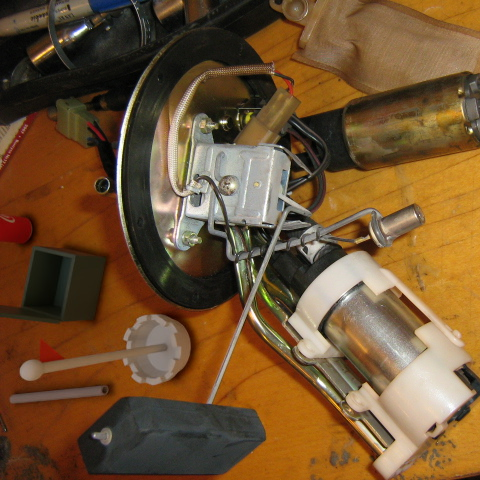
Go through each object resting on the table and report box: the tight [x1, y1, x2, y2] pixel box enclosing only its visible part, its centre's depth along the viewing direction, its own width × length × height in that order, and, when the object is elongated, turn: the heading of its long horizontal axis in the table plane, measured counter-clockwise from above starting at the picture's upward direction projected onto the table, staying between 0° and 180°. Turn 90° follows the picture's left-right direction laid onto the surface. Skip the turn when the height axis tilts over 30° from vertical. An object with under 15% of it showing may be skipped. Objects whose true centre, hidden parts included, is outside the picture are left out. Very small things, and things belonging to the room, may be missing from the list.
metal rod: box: [9, 384, 109, 405], centre depth 99 cm, size 2×27×2 cm, turn 98°
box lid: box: [0, 304, 61, 325], centre depth 87 cm, size 14×13×6 cm
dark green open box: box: [20, 245, 107, 323], centre depth 98 cm, size 14×13×8 cm
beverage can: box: [0, 213, 33, 244], centre depth 104 cm, size 6×6×12 cm
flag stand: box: [19, 313, 192, 386], centre depth 77 cm, size 13×13×30 cm
